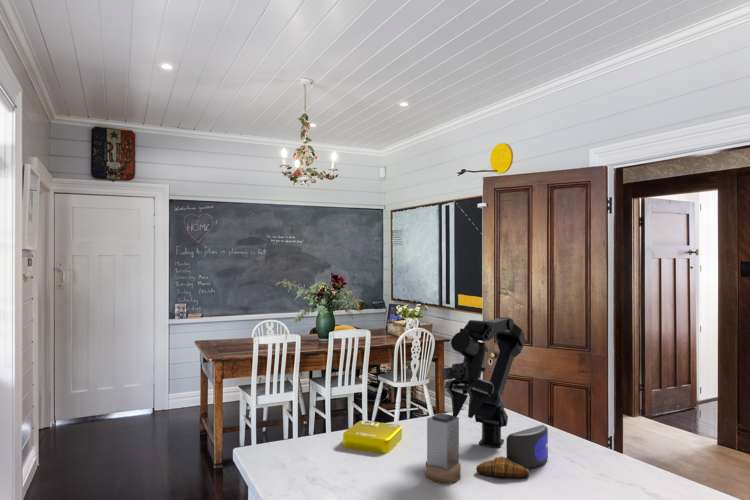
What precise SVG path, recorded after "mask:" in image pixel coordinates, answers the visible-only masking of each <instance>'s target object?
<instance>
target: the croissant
mask: <svg viewBox="0 0 750 500" xmlns="http://www.w3.org/2000/svg"><path fill="white" fill-rule="evenodd" d="M475 471H476V473H478V474H479V475H484V476H489V477H496V478H501V479H507V478H508V479H509V478H510V479H512V478H513V479H525V478H529V476H530V469H526V468H525V467H523V466H522V465H519V464H517V463H515V462H512V461H511V460H509V459H508V458H507V457H504V456H498V457H497V456H496V457H495V458H493V459H490V460H486V461H483V462H481V463H479V464H477V465H476V468H475Z"/></svg>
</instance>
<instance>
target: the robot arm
mask: <svg viewBox="0 0 750 500" xmlns="http://www.w3.org/2000/svg"><path fill="white" fill-rule="evenodd" d="M494 337H495V340H496V341H497V342H496V344H497V348H498V350H499V351H498V354H497V355H498V356H497V358H496V361H495V363H494V366H493V370H492V372H491V376H490V379H489V381H488V380H486V379H482V373H485V371H486V368H485V367H484V362H485V357H486V356H485V355H486V353H488V351H489V349H488V347H487V346H486V342H488V341H491V340H492V339H494ZM480 341H481V342H480ZM450 345H451V348H452V350H454V351H455V352H456V353H458V354H460V355H461V356H462V357H463V361H462V362H459V363H452V365H451V367H442V368H441V369H440V371H441V379H442V381H445V385H444V389H445V391H446V392H447V393H448V394H449V396H450V399H451V408H452V416H454V417H458V415H459V414H460V412H461V410H462V408H463V406H464V404H465V402H466V401H467V398H468V397H469V399H468V409H467V417H468V418H470V419H472V418H473V417H474V420H475V423H480V424H481V439H480V440H479V442H478V445H479V446H487V447H492V448H493V447H494V448H501V447H502V445H503V444H504V442H505V440H504V439H502V428H503V427H508V426H507V425H508V419H509V418H508V417H509V416H508V414H507V412H506V410H505V404H504V400H503V398H502V397H503V394H504V391H505V387H506V383H507V381H508V377H509V373H510V371H511V367H512V365H513V361H514V358H516V357H517V356H519V355H520V354H521V352H522V351H523V348H524V346H525V345H526V336H525V334H524V332H523V329H521V328H520V327H519V325H517V324H516V323H515V322H514V319H513V318H511V317H503V316H502V317H500V316H499V317H496V318H494V319H488V320H479V319H478V320H476V319H469V321H467V323H466V324H465V326H464V327H463V328H460V329H459V332H457V333H455V334H454V336H453V337H452V338H451V340H450ZM446 380H447V381H446Z"/></svg>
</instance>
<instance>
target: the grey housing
mask: <svg viewBox="0 0 750 500" xmlns="http://www.w3.org/2000/svg"><path fill="white" fill-rule="evenodd" d="M459 423H460V418H459V417H458V416H457V417H454V416H453V414H452V415H451V414H447V413H442V412H439V413H437V414H435V415H432V416H431V417H428V418H427V419H426V451H427V452H426V457H427V458H426V462H427V465H428V466H432V467H435V468H439V469H442V470H445V471H448V470H450V469H451V468H453V467H454V466H456V465H458V464H459V463H460V439H459V438H460V424H459Z"/></svg>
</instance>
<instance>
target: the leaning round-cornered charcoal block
mask: <svg viewBox="0 0 750 500" xmlns="http://www.w3.org/2000/svg"><path fill="white" fill-rule="evenodd" d="M548 436H549V429H548V427H547V426H546V425H544V424H541V425H537V426H534V427H530V428H526V429H523V430H520V431H516V432H512V433H510V434H509V435H507V437H506V438H505V439H506V446H505V447H506V458H508V459H509V460H511V461H512V462H515V463H517V464H519V465H522V466H523V467H525V468H526V469H528V470H531V469H534V468H538V467H541V465H544V464H545V463H546V462H547V460H548V458H549V437H548Z"/></svg>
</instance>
